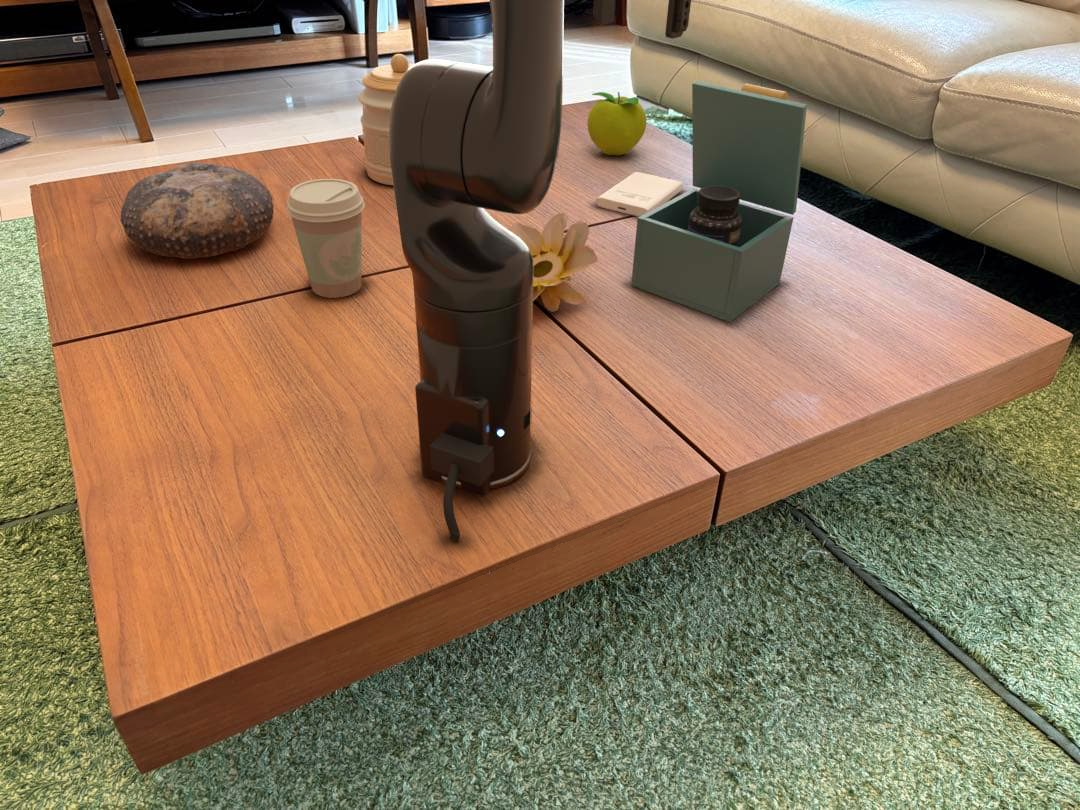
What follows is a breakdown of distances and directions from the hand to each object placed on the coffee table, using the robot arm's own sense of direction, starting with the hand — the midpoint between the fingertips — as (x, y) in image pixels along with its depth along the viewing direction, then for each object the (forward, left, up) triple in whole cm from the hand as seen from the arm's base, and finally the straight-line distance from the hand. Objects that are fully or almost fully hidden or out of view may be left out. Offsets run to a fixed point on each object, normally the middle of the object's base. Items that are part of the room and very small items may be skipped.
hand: (638, 30), depth 84 cm
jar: (+20, +44, -29) cm, 56 cm away
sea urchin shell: (-13, +54, -29) cm, 63 cm away
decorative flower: (-6, +9, -29) cm, 31 cm away
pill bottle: (+6, -9, -29) cm, 31 cm away
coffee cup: (-16, +30, -29) cm, 45 cm away
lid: (+10, -10, -14) cm, 20 cm away
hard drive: (+28, +8, -29) cm, 41 cm away
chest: (+6, -9, -29) cm, 31 cm away
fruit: (+45, +19, -29) cm, 57 cm away
